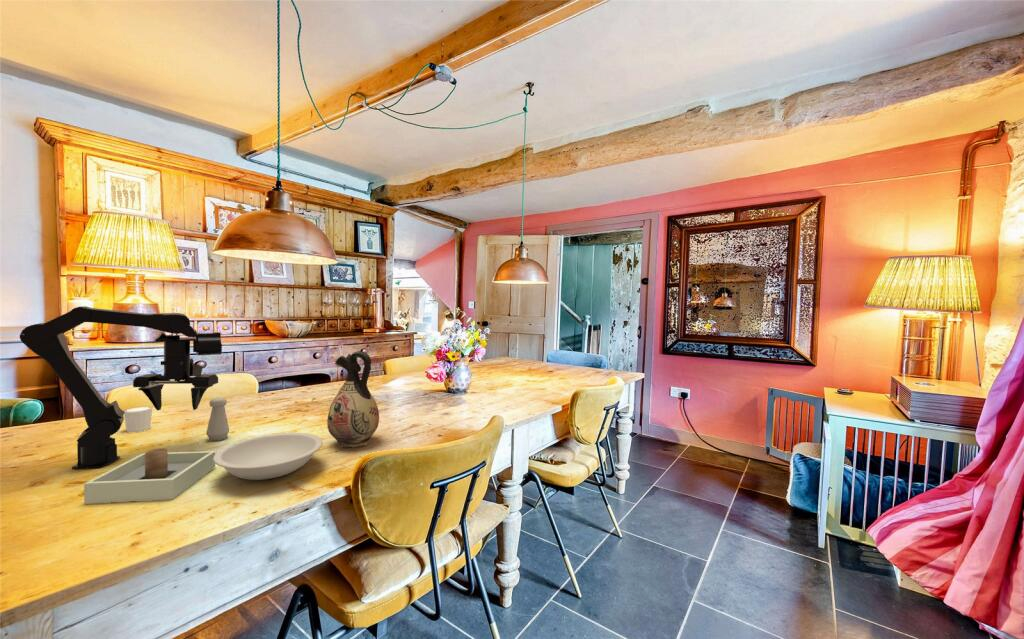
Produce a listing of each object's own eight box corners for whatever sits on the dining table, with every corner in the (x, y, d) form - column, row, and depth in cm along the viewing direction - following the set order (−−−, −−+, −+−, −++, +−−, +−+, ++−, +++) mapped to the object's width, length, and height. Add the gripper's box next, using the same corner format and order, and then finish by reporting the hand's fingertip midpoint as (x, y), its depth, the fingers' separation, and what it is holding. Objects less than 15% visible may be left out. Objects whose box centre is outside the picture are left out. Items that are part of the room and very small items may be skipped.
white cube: (118, 431, 125) (118, 410, 125) (143, 425, 132) (143, 405, 132) (132, 434, 123) (132, 413, 123) (157, 428, 130) (157, 407, 130)
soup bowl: (231, 459, 108) (231, 436, 107) (326, 450, 116) (326, 429, 116) (196, 502, 85) (196, 472, 85) (316, 487, 94) (316, 460, 93)
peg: (140, 488, 90) (140, 455, 90) (153, 480, 94) (152, 448, 94) (160, 487, 91) (160, 454, 90) (171, 479, 95) (171, 448, 94)
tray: (84, 504, 83) (84, 483, 83) (142, 470, 99) (142, 453, 99) (172, 499, 86) (172, 479, 86) (215, 467, 102) (215, 451, 102)
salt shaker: (219, 442, 119) (219, 401, 119) (201, 441, 120) (201, 400, 119) (233, 436, 125) (233, 396, 125) (216, 435, 125) (216, 395, 125)
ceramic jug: (314, 447, 118) (316, 350, 117) (351, 432, 133) (352, 346, 131) (360, 456, 113) (362, 355, 111) (392, 439, 127) (394, 349, 126)
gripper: (228, 353, 121) (228, 402, 122) (159, 352, 117) (159, 403, 118) (207, 358, 110) (207, 412, 111) (131, 357, 106) (131, 413, 107)
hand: (177, 409), depth 112 cm, fingers open, 9 cm apart
